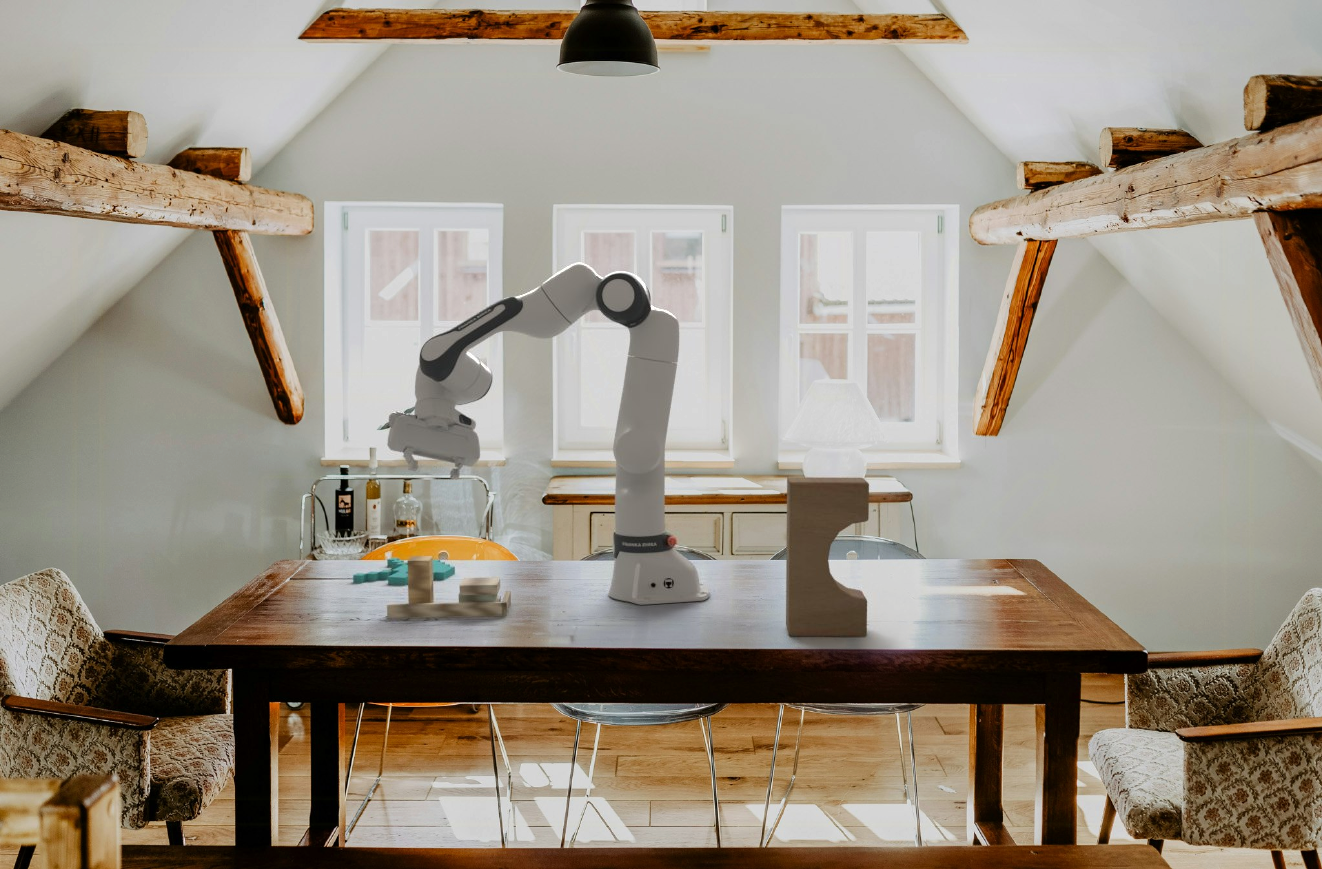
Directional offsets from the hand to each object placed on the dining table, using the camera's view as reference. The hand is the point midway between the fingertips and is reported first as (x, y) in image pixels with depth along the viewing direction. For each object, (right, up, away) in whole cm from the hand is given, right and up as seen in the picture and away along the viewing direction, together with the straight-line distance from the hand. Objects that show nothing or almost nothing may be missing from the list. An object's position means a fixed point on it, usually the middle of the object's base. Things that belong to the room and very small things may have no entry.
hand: (434, 473), depth 224 cm
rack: (+5, -29, -7) cm, 31 cm away
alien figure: (-12, -27, +31) cm, 42 cm away
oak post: (-1, -28, -8) cm, 29 cm away
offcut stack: (+11, -28, -7) cm, 31 cm away
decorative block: (+81, -30, -20) cm, 89 cm away
